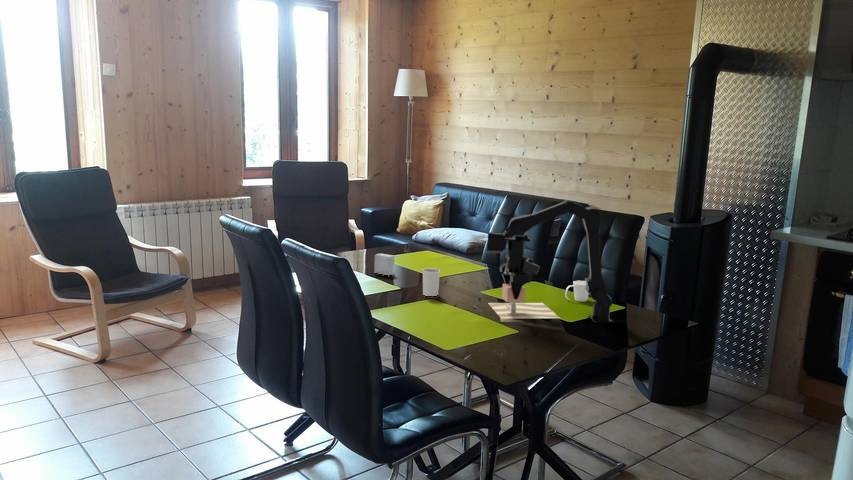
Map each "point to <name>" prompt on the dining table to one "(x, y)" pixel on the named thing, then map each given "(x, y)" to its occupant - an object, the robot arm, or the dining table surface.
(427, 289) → the drinking glass
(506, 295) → the pink block
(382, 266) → the medicine box
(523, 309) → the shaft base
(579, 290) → the cup
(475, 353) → the dining table surface
